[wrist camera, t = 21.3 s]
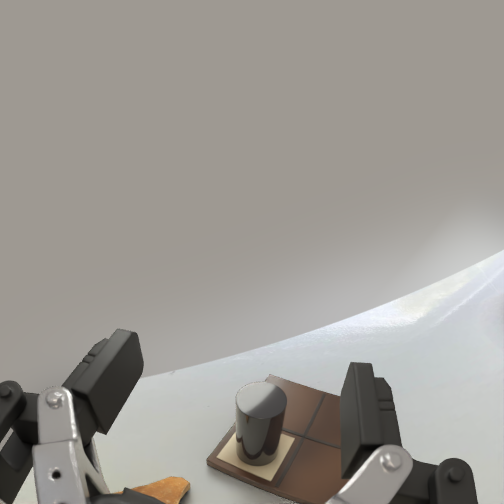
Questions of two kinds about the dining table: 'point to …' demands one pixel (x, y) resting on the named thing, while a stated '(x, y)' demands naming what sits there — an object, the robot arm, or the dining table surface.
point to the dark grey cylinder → (259, 422)
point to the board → (295, 449)
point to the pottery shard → (165, 489)
